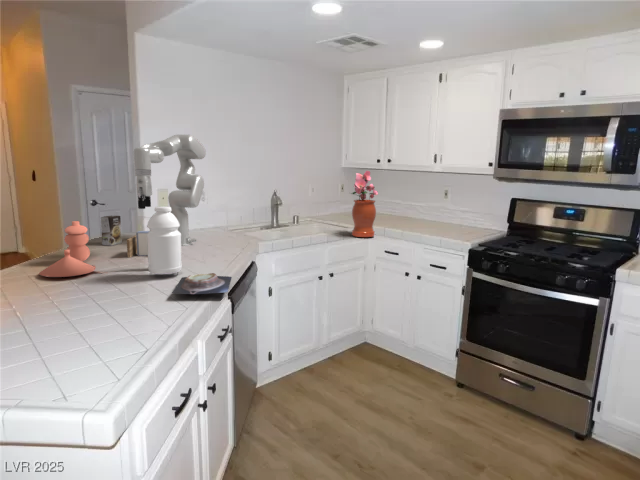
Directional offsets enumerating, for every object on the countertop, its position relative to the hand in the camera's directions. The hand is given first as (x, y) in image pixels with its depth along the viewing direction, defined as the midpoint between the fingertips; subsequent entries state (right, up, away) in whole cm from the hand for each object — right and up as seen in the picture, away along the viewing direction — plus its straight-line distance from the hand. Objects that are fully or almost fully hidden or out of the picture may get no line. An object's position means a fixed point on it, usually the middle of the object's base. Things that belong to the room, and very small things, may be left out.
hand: (144, 207), depth 213 cm
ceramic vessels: (-22, -28, -24) cm, 43 cm away
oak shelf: (-1, -24, +4) cm, 24 cm away
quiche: (+43, -35, -47) cm, 72 cm away
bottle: (+20, -30, -27) cm, 45 cm away
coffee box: (-31, -19, +30) cm, 47 cm away
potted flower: (+117, -13, +83) cm, 144 cm away
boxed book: (-1, -24, +4) cm, 24 cm away
